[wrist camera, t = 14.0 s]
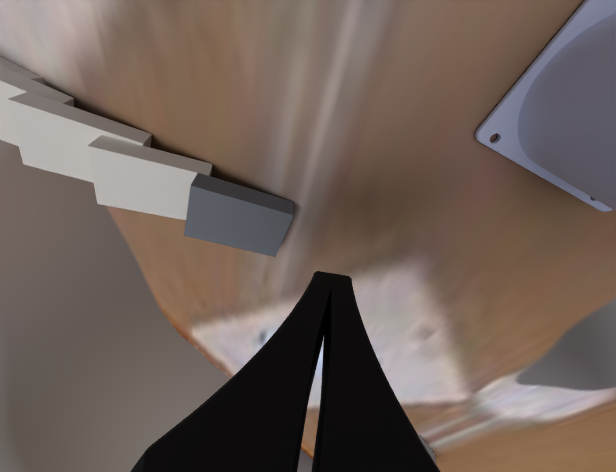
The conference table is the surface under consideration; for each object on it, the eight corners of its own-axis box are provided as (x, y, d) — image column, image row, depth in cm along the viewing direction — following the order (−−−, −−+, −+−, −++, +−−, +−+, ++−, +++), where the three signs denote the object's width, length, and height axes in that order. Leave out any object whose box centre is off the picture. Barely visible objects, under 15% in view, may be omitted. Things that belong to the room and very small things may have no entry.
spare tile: (293, 215, 18) (190, 185, 16) (275, 256, 21) (183, 235, 19) (293, 201, 19) (198, 172, 17) (275, 242, 22) (191, 220, 20)
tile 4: (59, 105, 17) (-104, 36, 14) (59, 160, 19) (-80, 111, 16) (73, 98, 18) (-72, 33, 15) (72, 150, 20) (-55, 103, 17)
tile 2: (208, 175, 18) (87, 145, 15) (202, 223, 20) (97, 203, 18) (212, 164, 19) (101, 135, 17) (205, 210, 22) (108, 190, 19)
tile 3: (143, 143, 17) (6, 98, 15) (140, 194, 20) (23, 164, 17) (151, 134, 19) (28, 91, 16) (148, 183, 21) (40, 153, 19)
